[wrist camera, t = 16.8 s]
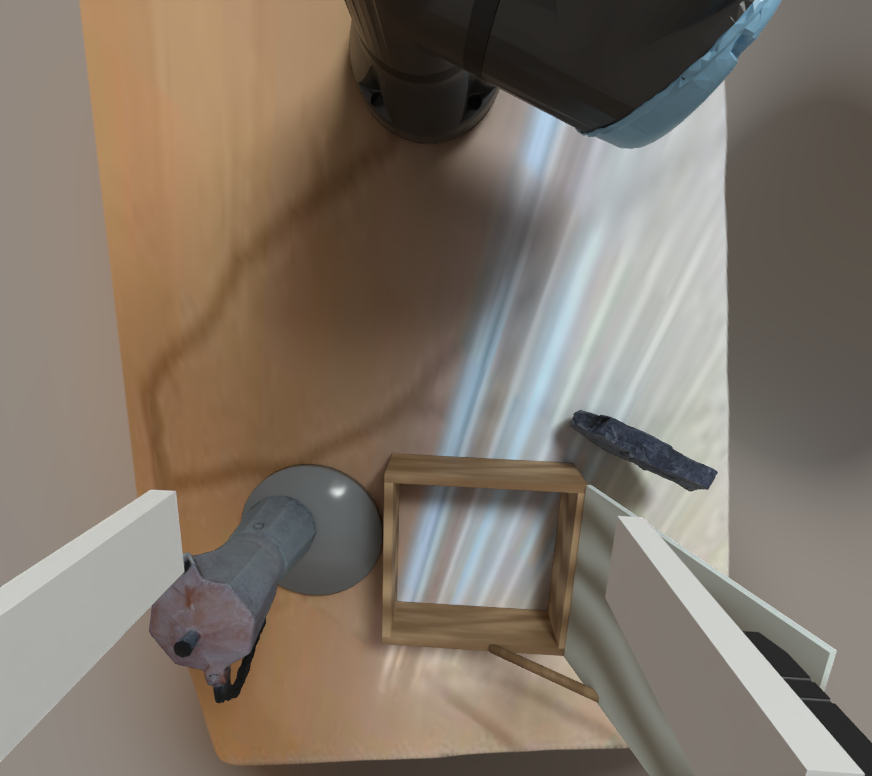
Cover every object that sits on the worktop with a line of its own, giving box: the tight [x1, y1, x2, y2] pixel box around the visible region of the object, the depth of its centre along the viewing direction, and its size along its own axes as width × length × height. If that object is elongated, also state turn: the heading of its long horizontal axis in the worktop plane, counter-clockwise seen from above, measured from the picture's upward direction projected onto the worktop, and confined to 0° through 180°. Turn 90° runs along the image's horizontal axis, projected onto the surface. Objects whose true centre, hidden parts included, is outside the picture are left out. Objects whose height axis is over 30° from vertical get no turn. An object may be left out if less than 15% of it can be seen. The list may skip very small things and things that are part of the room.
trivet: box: [241, 464, 383, 595], centre depth 53 cm, size 18×18×1 cm
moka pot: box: [149, 495, 316, 703], centre depth 43 cm, size 10×15×20 cm, turn 14°
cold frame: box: [382, 453, 837, 776], centre depth 40 cm, size 22×30×27 cm
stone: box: [571, 410, 717, 491], centre depth 44 cm, size 14×6×10 cm, turn 78°
